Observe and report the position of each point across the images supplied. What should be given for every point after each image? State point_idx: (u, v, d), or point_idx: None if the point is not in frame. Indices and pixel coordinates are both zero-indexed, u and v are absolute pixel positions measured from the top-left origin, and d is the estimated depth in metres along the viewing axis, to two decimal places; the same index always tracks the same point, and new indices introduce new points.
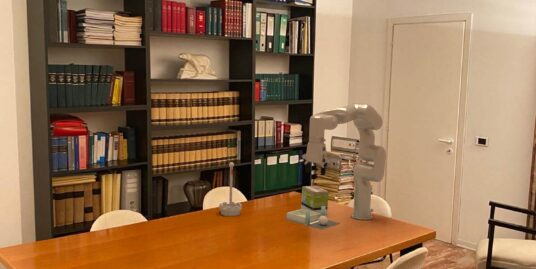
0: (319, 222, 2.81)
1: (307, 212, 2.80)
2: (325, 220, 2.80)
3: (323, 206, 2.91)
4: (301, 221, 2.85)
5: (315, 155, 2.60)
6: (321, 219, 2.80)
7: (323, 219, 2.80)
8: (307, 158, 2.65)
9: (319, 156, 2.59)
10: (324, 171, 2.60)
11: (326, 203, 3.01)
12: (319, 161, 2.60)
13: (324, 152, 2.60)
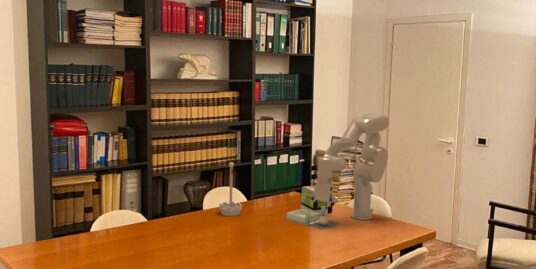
0: (319, 222, 2.81)
1: (307, 212, 2.80)
2: (325, 220, 2.80)
3: (323, 206, 2.91)
4: (301, 221, 2.85)
5: (323, 194, 2.77)
6: (321, 219, 2.80)
7: (323, 219, 2.80)
8: (315, 197, 2.81)
9: (326, 195, 2.76)
10: (331, 210, 2.77)
11: (326, 203, 3.01)
12: (326, 200, 2.76)
13: (331, 192, 2.76)
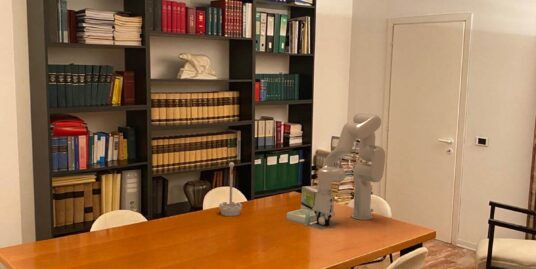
0: (319, 222, 2.81)
1: (307, 212, 2.80)
2: None
3: None
4: (301, 221, 2.85)
5: (323, 206, 2.78)
6: (321, 219, 2.80)
7: (323, 219, 2.80)
8: (315, 208, 2.82)
9: (327, 207, 2.77)
10: (328, 222, 2.79)
11: None
12: (327, 212, 2.77)
13: (331, 203, 2.77)
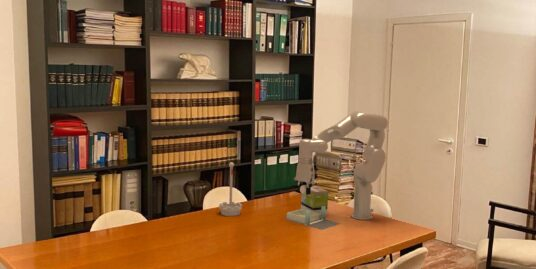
0: (300, 191, 2.90)
1: (307, 212, 2.80)
2: None
3: (323, 206, 2.91)
4: (301, 221, 2.85)
5: (304, 175, 2.87)
6: (302, 188, 2.89)
7: (304, 188, 2.88)
8: (297, 177, 2.91)
9: (307, 176, 2.86)
10: (309, 191, 2.88)
11: (326, 203, 3.01)
12: (307, 180, 2.86)
13: (312, 172, 2.86)
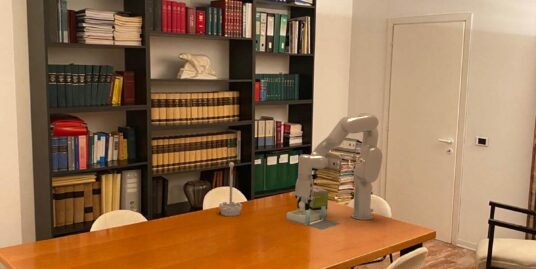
0: (299, 206, 2.91)
1: (307, 212, 2.80)
2: None
3: (323, 206, 2.91)
4: (301, 221, 2.85)
5: (303, 191, 2.88)
6: (301, 203, 2.90)
7: (303, 203, 2.89)
8: (296, 193, 2.92)
9: (307, 192, 2.87)
10: (308, 206, 2.89)
11: (326, 203, 3.01)
12: (307, 196, 2.87)
13: (311, 188, 2.87)
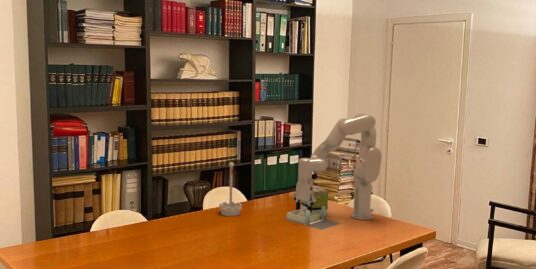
0: None
1: (307, 212, 2.80)
2: (305, 214, 2.90)
3: (323, 206, 2.91)
4: (301, 221, 2.85)
5: (303, 194, 2.88)
6: (301, 213, 2.90)
7: (303, 213, 2.90)
8: (296, 196, 2.92)
9: (307, 195, 2.87)
10: (310, 209, 2.88)
11: (326, 203, 3.01)
12: (307, 199, 2.87)
13: (311, 191, 2.87)
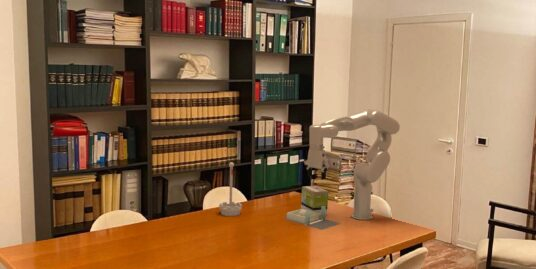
0: None
1: (307, 212, 2.80)
2: (305, 213, 2.90)
3: (323, 206, 2.91)
4: (301, 221, 2.85)
5: (316, 161, 2.85)
6: (301, 213, 2.90)
7: (303, 213, 2.90)
8: (308, 164, 2.89)
9: (319, 162, 2.83)
10: (324, 175, 2.84)
11: (326, 203, 3.01)
12: (319, 166, 2.84)
13: (323, 158, 2.84)
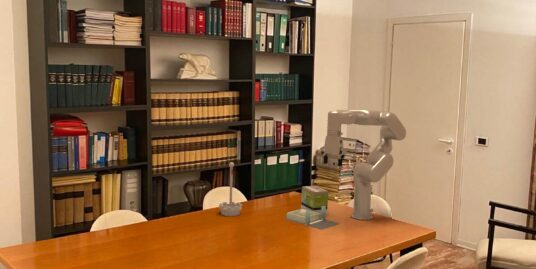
0: None
1: (307, 212, 2.80)
2: (305, 213, 2.90)
3: (323, 206, 2.91)
4: (301, 221, 2.85)
5: (333, 148, 2.81)
6: (301, 213, 2.90)
7: (303, 213, 2.90)
8: (325, 150, 2.85)
9: (336, 148, 2.80)
10: (341, 162, 2.81)
11: (326, 203, 3.01)
12: (336, 153, 2.80)
13: (341, 145, 2.80)
